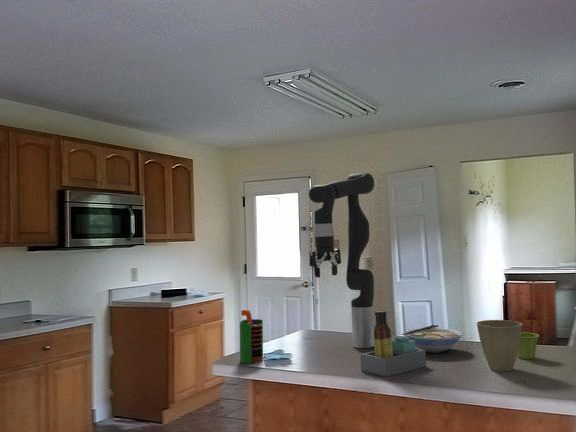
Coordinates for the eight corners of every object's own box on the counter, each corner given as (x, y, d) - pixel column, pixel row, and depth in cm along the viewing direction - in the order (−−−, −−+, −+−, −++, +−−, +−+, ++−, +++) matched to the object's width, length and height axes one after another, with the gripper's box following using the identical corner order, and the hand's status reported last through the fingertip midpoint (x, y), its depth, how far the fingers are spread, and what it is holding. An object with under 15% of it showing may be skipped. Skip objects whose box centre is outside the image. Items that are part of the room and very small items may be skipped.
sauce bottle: (394, 365, 197) (392, 309, 198) (392, 369, 191) (389, 312, 192) (376, 364, 199) (374, 309, 200) (373, 368, 193) (371, 312, 194)
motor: (259, 364, 211) (257, 311, 211) (237, 363, 213) (235, 311, 213) (265, 358, 221) (264, 308, 221) (244, 357, 222) (242, 308, 223)
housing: (400, 360, 209) (399, 345, 209) (425, 366, 199) (425, 349, 199) (361, 370, 196) (360, 354, 196) (386, 376, 186) (385, 359, 187)
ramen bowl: (440, 360, 207) (439, 338, 207) (391, 352, 224) (391, 332, 225) (475, 349, 224) (474, 329, 224) (427, 342, 241) (426, 324, 241)
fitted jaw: (400, 359, 205) (400, 335, 206) (415, 363, 200) (414, 337, 200) (390, 362, 202) (389, 337, 202) (404, 365, 196) (403, 339, 196)
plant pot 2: (540, 355, 210) (539, 332, 210) (540, 361, 201) (538, 337, 201) (513, 354, 213) (512, 331, 214) (512, 359, 205) (511, 336, 205)
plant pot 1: (469, 368, 194) (467, 322, 195) (498, 362, 202) (496, 318, 202) (504, 377, 181) (502, 328, 182) (533, 370, 189) (531, 323, 189)
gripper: (331, 234, 224) (333, 274, 224) (304, 236, 216) (306, 277, 216) (344, 234, 218) (346, 275, 218) (316, 236, 210) (318, 278, 210)
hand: (326, 276), depth 217 cm, fingers open, 8 cm apart
